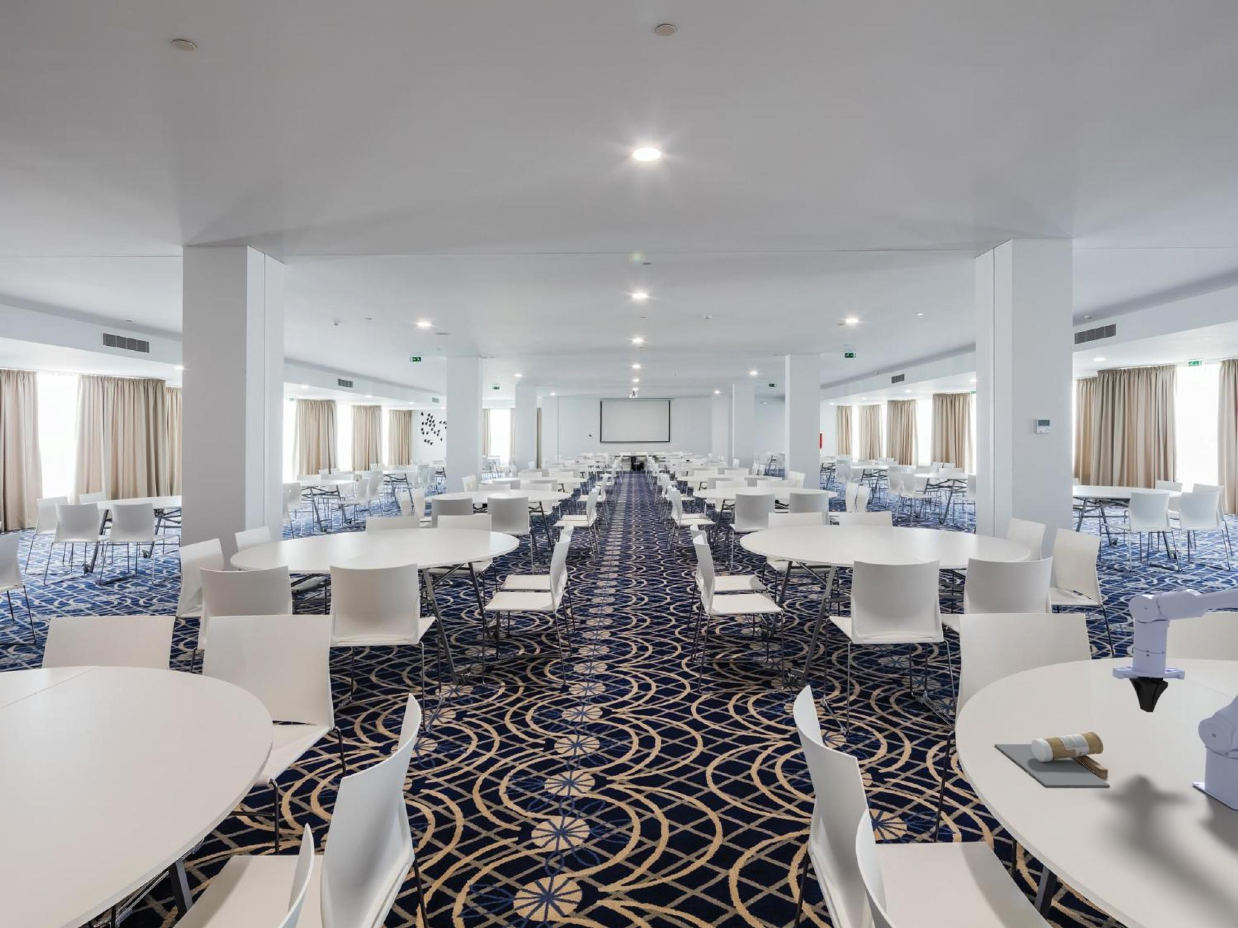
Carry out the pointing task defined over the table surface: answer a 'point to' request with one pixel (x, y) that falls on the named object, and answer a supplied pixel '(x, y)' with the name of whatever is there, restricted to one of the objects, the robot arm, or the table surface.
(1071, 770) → the rubber mat
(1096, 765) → the walnut rail
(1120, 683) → the table surface
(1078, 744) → the sprinkles bottle
